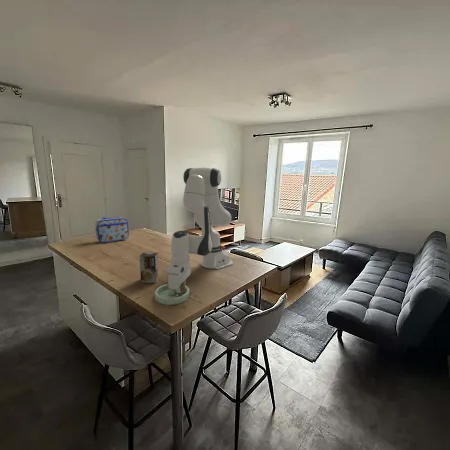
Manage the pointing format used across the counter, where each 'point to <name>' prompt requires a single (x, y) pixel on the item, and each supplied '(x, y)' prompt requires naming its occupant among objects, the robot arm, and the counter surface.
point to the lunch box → (111, 229)
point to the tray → (170, 295)
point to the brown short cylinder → (182, 289)
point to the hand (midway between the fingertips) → (180, 289)
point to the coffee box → (149, 267)
